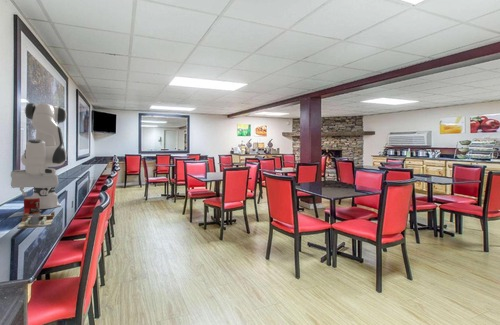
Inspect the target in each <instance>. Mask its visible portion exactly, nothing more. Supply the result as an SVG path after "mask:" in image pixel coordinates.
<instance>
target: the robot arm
mask: <svg viewBox="0 0 500 325" xmlns="http://www.w3.org/2000/svg"><path fill="white" fill-rule="evenodd" d="M24 114H25V117H26V118H27V119H29V120H32V121H31V125H32V127H33V128H34V129H35V130H36V131H35V139H29V140H27V141H26V144H25V150H24V153H23V154H22V155H21V160H20V161H21V163H22V165H23V166H24V168H25V169H13V170H12V171H11V172H10V177H11V182H10V186H11V188H13V189H15V188H17V189H18V188H19V191H21V193H22V197H27V196H28V195H27V192H26V191H25V190H24V189H25V188H32V189H33V194H32V195H31V196H39V197H40V210H47V209H54V208H58V207H61V206H62V205H61V203H59V198H58V194H57V193H56V187H58V186H59V177H58V173H56V172H57V170H56V168H55V167H60V166H63V165H64V164H65V162H66V160H67V156H68V155H67V151H66V149H65V145H64V137H63V133H62V128H61V127H60V124H61V123H64V122H66V119H67V117H68V113H67V111H66V108H64V107H63V106H56V105H52V104H50V103H46V102H45V103H44V102H42V103H34V102H32V103H31V102H30V103H28V104H26V106H25V107H24Z"/></svg>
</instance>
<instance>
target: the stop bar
mask: <svg viewBox="0 0 500 325" xmlns="http://www.w3.org/2000/svg"><path fill="white" fill-rule="evenodd" d="M41 215H42V212H40V213H34V214H32V215H31V216H32V217H31V225H34V226H39V225H38V224H39V223H40V221H41Z"/></svg>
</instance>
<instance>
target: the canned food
mask: <svg viewBox="0 0 500 325" xmlns="http://www.w3.org/2000/svg"><path fill="white" fill-rule="evenodd" d="M40 211H41V209H40V197H39V196H32V195H30V196H23V215H24V214H25V213H28V215H34V213H41V212H40Z"/></svg>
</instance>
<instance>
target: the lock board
mask: <svg viewBox="0 0 500 325" xmlns="http://www.w3.org/2000/svg"><path fill="white" fill-rule="evenodd" d="M55 212H56V211H55V210H54V211H50V214H41V221H40V223H39V224H38V225H31V217H32V216H33V215H29V214H28V213H25V214H24V213H23V217H21V222H20V223H19V225H17V230H23V229H24V230H26V229H34V228H44V227H52V223H53V220H54V219H55V216H56V213H55Z"/></svg>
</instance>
